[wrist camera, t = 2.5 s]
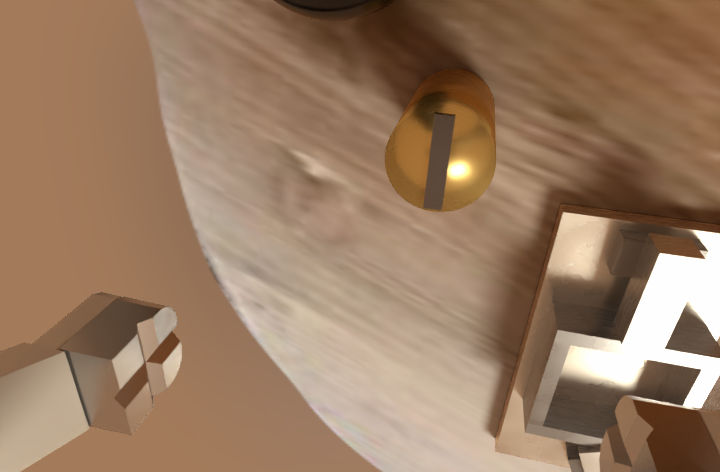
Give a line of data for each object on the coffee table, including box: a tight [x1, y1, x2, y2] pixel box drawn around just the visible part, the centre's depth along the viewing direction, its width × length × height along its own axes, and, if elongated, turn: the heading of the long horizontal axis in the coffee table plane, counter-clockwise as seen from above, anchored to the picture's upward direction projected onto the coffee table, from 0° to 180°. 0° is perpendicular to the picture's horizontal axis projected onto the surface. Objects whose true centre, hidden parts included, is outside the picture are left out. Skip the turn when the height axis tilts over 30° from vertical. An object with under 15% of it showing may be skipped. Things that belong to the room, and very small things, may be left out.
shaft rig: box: [495, 204, 720, 472], centre depth 27 cm, size 18×9×4 cm, turn 177°
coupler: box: [385, 69, 496, 212], centre depth 21 cm, size 4×4×7 cm
